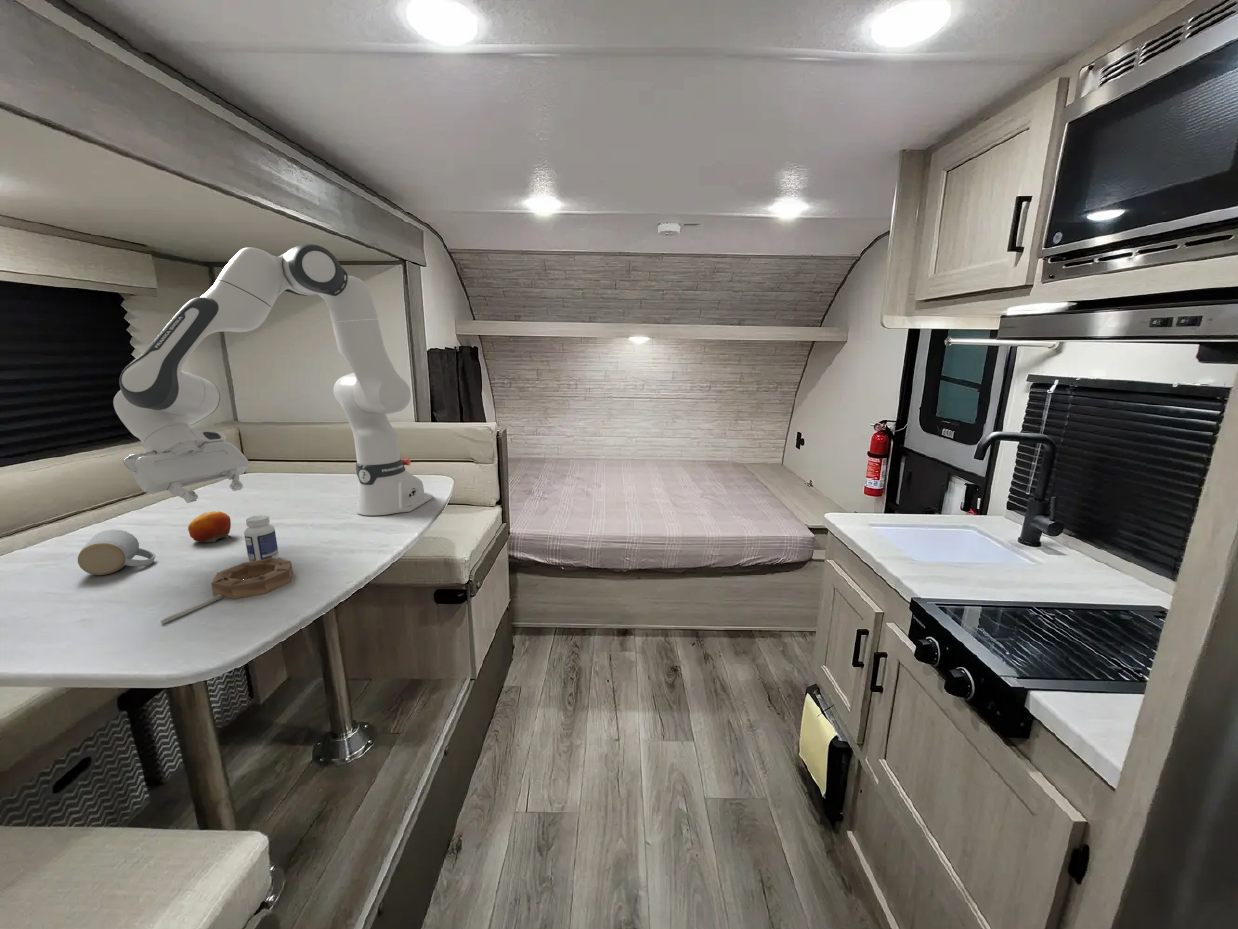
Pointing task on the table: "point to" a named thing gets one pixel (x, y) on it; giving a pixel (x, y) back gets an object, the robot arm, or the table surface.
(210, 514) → the fruit
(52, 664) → the table surface
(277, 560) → the walnut ring
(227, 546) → the table surface
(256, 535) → the pill bottle
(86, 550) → the ceramic mug
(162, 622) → the grey rod
